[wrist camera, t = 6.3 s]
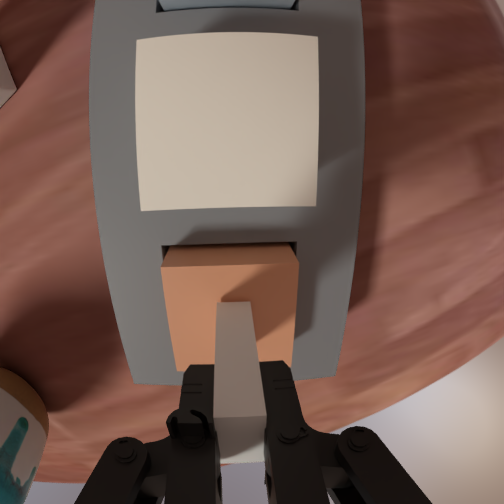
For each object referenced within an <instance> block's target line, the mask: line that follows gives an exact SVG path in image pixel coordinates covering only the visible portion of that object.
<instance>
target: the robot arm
mask: <svg viewBox="0 0 504 504" xmlns="http://www.w3.org/2000/svg"><path fill="white" fill-rule="evenodd" d="M166 424H167V428H168V431H169V434H170V435H169V436H168V437H166V438H164V439H162V440H159V441H155V442H150V443H145V444H143V443H142V442H141V441H139V440H137V439H135V438H132V437H122V438H118V439H116V440H114V441H112V442H111V443H110V444H109V445H108V446H107V448H106V450H105V451H104V453H103V455H102V456H101V458H100V460H99V462H98V463H97V465H96V467H95V468H94V470H93V472H92V474H91V475H90V477H89V479H88V480H87V482H86V484H85V486H84V488H83V489H82V491H81V493H80V494H79V496H78V498H77V500H76V501H75V503H74V504H161V503H162V500H163V498H164V496H165V501H164V504H222V477H221V471H220V463H248V462H264V460H265V468H266V470H265V484H266V487H267V495H268V502H269V504H330V502H329V498H328V494H329V495H330V497H331V499H332V500H333V502H334V503H335V504H432V503H431V501H430V500H429V499H428V498H427V497H426V495H425V494H424V493H423V492H422V490H421V489H420V488H419V487H418V485H417V484H416V483H415V482H414V480H413V479H412V478H411V477H410V476H409V474H408V473H407V472H406V471H405V469H404V468H403V467H402V466H401V464H400V463H399V462H398V461H397V459H396V458H395V457H394V456H393V455H392V453H391V452H390V451H389V449H388V448H387V447H386V446H385V444H384V443H383V442H382V441H381V440H380V438H379V437H378V435H377V434H376V433H374V432H373V431H372V430H370V429H368V428H366V427H360V426H355V427H350V428H347V429H346V430H344V431H343V432H342V433H341V434H340V435H339V434H329V433H323V432H319V431H316V430H314V429H312V428H311V427H310V426H308V425H307V423H306V422H305V420H304V418H303V415H302V411H301V407H300V403H299V399H298V395H297V392H296V389H295V384H294V381H293V376H292V372H291V369H290V367H289V366H288V365H287V364H286V363H285V362H284V361H283V360H278V361H263V362H259V359H258V352H257V345H256V338H255V331H254V324H253V317H252V310H251V303H250V301H247V302H217V310H216V335H215V364H190V365H189V367H188V368H187V369H186V371H185V372H184V374H183V381H182V389H181V396H180V404H179V409H177V410H175V411H173V412H172V413H171V414H170V415H169V416H168V419H167V421H166ZM327 492H328V494H327Z"/></svg>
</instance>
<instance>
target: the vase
mask: <svg viewBox="0 0 504 504" xmlns="http://www.w3.org/2000/svg"><path fill="white" fill-rule="evenodd" d="M48 431H49V419H48V414H47V410H46V407H45V405H44V403H43V401H42V399H41V398H40V396H39V395H38V394H37V392H36V391H35V390H34V389H33V388H32V387H31V386H30V385H29V384H28V383H27V382H26V381H25V380H24V379H22V378H21V377H20V376H18V375H17V374H15V373H13V372H11V371H9V370H7V369H4V368H1V367H0V504H23V503H24V502H25V499H26V497H27V495H28V493H29V490H30V488H31V485H32V482H33V480H34V477H35V475H36V472H37V469H38V466H39V463H40V460H41V457H42V454H43V451H44V447H45V444H46V440H47V436H48Z"/></svg>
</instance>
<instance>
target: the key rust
mask: <svg viewBox="0 0 504 504" xmlns="http://www.w3.org/2000/svg"><path fill="white" fill-rule="evenodd" d="M298 274H299V262H298V260H297V258H296V256H295V254H294V252H293V250H292V249H291V247H290V245H289V243H288V242H256V243H222V244H190V245H170V247H169V249H168V252H167V254H166V256H165V258H164V260H163V263H162V265H161V275H162V283H163V290H164V297H165V304H166V311H167V317H168V324H169V330H170V336H171V341H172V347H173V353H174V358H175V363H176V369H177V371H186V369H187V368H188V367H189V365H190V364H215V335H216V310H217V302H247V301H250V303H251V310H252V317H253V324H254V331H255V338H256V345H257V352H258V359H259V362H263V361H278V360H283V361H284V362H285V363H286V364H287V365H288V366H289V367H291V363H292V352H293V341H294V329H295V317H296V304H297V289H298Z"/></svg>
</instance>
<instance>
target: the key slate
mask: <svg viewBox="0 0 504 504" xmlns="http://www.w3.org/2000/svg"><path fill="white" fill-rule="evenodd" d="M159 2H160V4H161V6H162V8H163V9H164V11H165V12H169V11H178V10H190V9H206V8H267V9H283V10H290V9H291V7H292V5H293V3H294V2H295V0H159Z"/></svg>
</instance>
